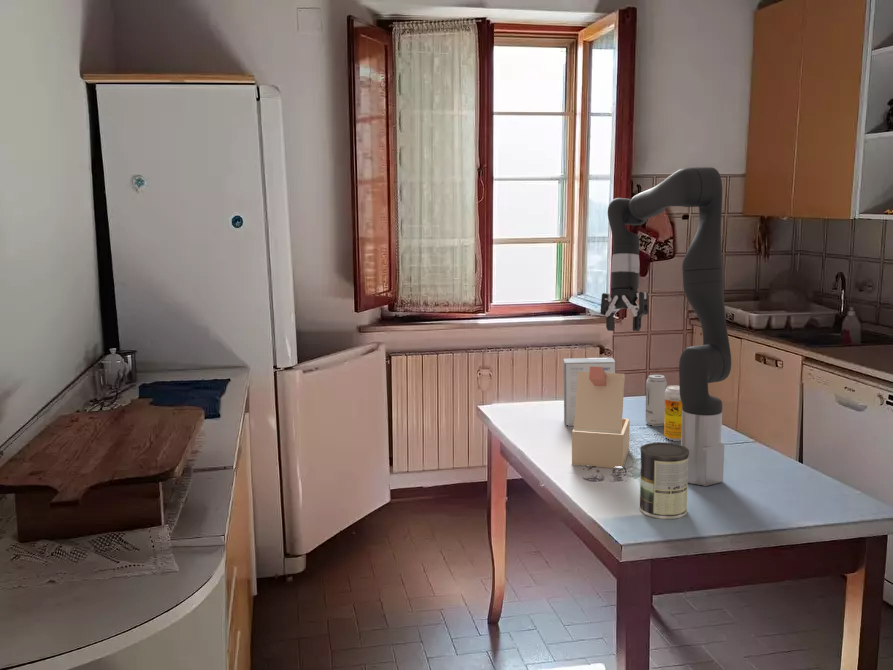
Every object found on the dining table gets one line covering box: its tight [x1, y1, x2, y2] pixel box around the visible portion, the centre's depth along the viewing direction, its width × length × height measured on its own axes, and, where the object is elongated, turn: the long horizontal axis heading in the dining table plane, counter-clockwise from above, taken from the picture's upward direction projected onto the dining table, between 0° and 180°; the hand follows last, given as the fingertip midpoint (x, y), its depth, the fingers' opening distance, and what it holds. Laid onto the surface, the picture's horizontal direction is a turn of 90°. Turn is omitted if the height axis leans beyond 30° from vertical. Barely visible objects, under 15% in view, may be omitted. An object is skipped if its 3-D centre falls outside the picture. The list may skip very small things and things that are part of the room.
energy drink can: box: [644, 374, 668, 427], centre depth 244 cm, size 6×6×15 cm
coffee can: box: [639, 442, 689, 520], centre depth 176 cm, size 10×10×14 cm
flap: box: [573, 366, 626, 434], centre depth 203 cm, size 15×12×11 cm
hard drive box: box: [563, 357, 617, 427], centre depth 246 cm, size 16×8×20 cm, turn 84°
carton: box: [571, 417, 631, 469], centre depth 214 cm, size 16×13×9 cm
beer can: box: [663, 384, 682, 442], centre depth 229 cm, size 6×6×15 cm
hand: (623, 330), depth 219 cm, fingers open, 8 cm apart
